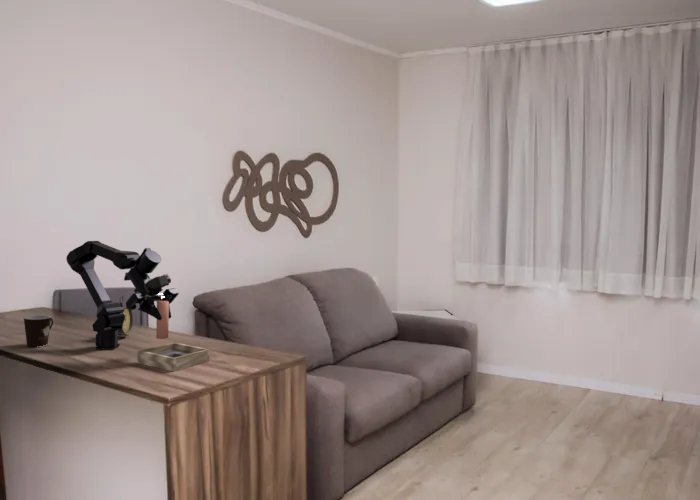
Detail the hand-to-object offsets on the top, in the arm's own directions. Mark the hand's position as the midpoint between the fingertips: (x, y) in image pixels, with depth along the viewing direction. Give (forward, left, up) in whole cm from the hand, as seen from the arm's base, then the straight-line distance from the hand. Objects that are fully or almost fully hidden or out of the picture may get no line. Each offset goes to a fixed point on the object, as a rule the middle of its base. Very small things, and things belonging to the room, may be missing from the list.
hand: (165, 318), depth 205 cm
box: (-4, +2, -14) cm, 15 cm away
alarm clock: (+25, -30, -14) cm, 42 cm away
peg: (+1, -1, -7) cm, 7 cm away
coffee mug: (+47, -14, -14) cm, 51 cm away
